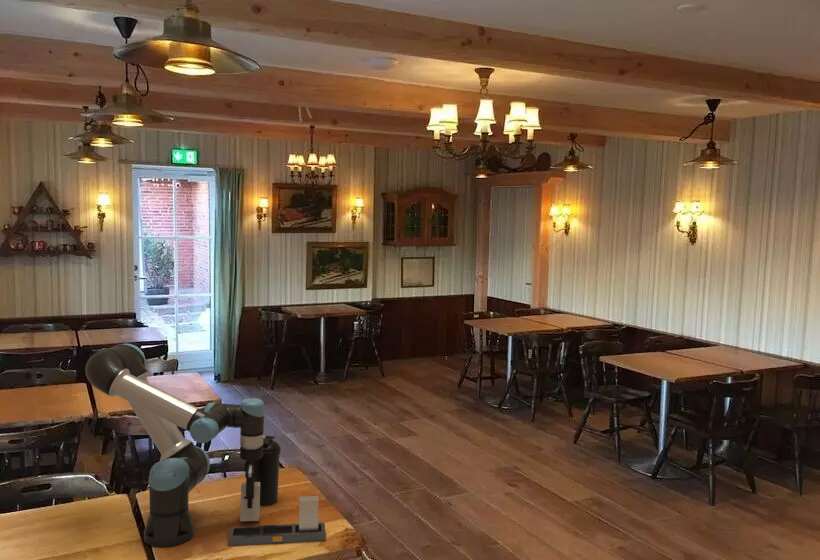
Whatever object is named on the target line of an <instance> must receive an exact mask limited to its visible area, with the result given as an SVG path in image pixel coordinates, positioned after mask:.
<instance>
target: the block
mask: <svg viewBox="0 0 820 560" xmlns="http://www.w3.org/2000/svg"><path fill="white" fill-rule="evenodd" d="M240 485H241V486H240V512H239V514H240V517H239V518H240V519H239V520H240V522H258V521H260V520H259V519H260V508H261V506H260V482H254V517H245V509H246V499H244V497H245V496H246V481H245V482H243V481H242V482H241V484H240Z"/></svg>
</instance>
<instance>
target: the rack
mask: <svg viewBox="0 0 820 560" xmlns="http://www.w3.org/2000/svg"><path fill="white" fill-rule="evenodd" d="M319 501H320V500H319V495H314V496H313V495H311V496H299V505H298V508H299V511H298V512H299V514H298V516H299V517H298V523H288V524H286V523H285V524H265V525H246V526H245V525H243V526H230V528H229V532H228V537H227V538H228V539H227V540H228V541H227V545H228V547H236V546H253V545H255V546H257V545H274V544H291V543H314V542H326V537H327V535H326V533H327V532H326V523H325V521H324V522H319V504H320V503H319Z"/></svg>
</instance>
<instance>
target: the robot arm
mask: <svg viewBox="0 0 820 560" xmlns="http://www.w3.org/2000/svg"><path fill="white" fill-rule="evenodd" d="M84 371H85V376H86V379H87V380H88V382H89V383H90V384H91V386H93V387H94V388H95V389H97V390H99V392H101V393H104V394H105V395H106V396H110V397H112V398H113V397H117V396H118V397H120V398H121V399H123V400H125V401H127V403H129V406H130V407H131V408H132V410H133V412H134V413H135V416H136V417H137V418H138V420H139V421H140V423H141V425H143V427H144V429H145V431H146V432H147V434H148V435H149V437H150V438H151V440H152V442H153V444H154V445H155V447H156V448H157V449H158V451H159V452H160V454H161V455H160V459H159V461H158V462H156V463H155V464H153V466H151V468H150V471H149V477H148V484H149V485H148V486H149V489H148V490H149V493H148V494H149V496H148V497H149V515H148V519H147V522H146V523H145V527H144V531H143V541H144V543H146V544H147V545H149V546H151V547H158V548H167V547H174V546H179V545H181V544H184V543H186V542H188V541H189V540H191V539H192V538H193V537H194V535H195V524H194V521H193V519H192V516H191V513H190V510H189V503H190V502H189V494H190V493H191V492H192V490H193V489H194V488H195V487H196V486H197V485H198V484H200V483H202V481H204V479H205V477H206V476H207V475H208V473H209V471H210V467H211V459H210V457H209V455H208V452H207V451H206V450H204V448H202V447H198V446H197V445H195V444H194V442H196V443H199V444H206V443H208V442H210V441H212V440H213V439H215V438H216V437H217V436H218V435H219V434H220V433H221V432H222V431H224V430H225V429H226V428H233V429H234V428H235V429H240V434H239V445H240V447H239V458H240V459H241V460H243V461H245V463H244V470H245V475H244V477H245V482H246V496H245V497H244V499H246V509H245V517H254V482H255V477H256V472H257V464H258V461H256V460H259V459H261V458H262V457H263V446H262V445H263V439H265V436H266V435H264V431H265V429H264V427H265V415H266V414H265V402H264V401H263V400H262V399H260V398H255V397H252V398H249V397H248V398H244V399H242V401H241V402H240V404H234V403H233V404H232V403H224V402H209V403H207V404H206V406H205V408H204V409H201V408H199V407H196V406H195V405H193V404H191V403H189V402H187V401H185V400H182V399H181V398H179V397H177V396H175V395H173V394H171V393H168V392H167V391H166V390H165V391H164V389H161V388H159V387H157V386H155V385H153V384H151V383H150V382H149V380H148V375H149V371H148V369H146V357H145V354H144V352H143V350H141V348H139V347H138V346H137V345H134V344H132V343H122V344H119V343H118V344H115V345H113V346H111V347H109V348H105V349H103V350H100V351H97V352H96V353H94V354H92V355H91V356H90V357H89V359H88V360H87V362H86V365H85V370H84ZM178 427H180V428H181V429H183V430H185V431H187V432H189V435H190V437H191V438H192V439H193V441H194V442H193V441H192V440H191V439H186V438H185V437H184V435H183V434H182V433H181V431H180V429H179V428H178Z"/></svg>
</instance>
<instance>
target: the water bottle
mask: <svg viewBox="0 0 820 560" xmlns="http://www.w3.org/2000/svg"><path fill="white" fill-rule="evenodd" d="M264 436H265V439H263V445H262V446H263V457H262V458H261V459H259V460H256V461H258V464H257V472H256V477H255V482H260V507H269V506H273V505H275V504H277V503H276V502H278V500H279V477H280V476H279V473H280V456H281V455H280V454H281V451H282V450H281V446H280V444H279V443H278V442H277V441H275V440H274V439H275V438H276V436H272V435H264Z"/></svg>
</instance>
